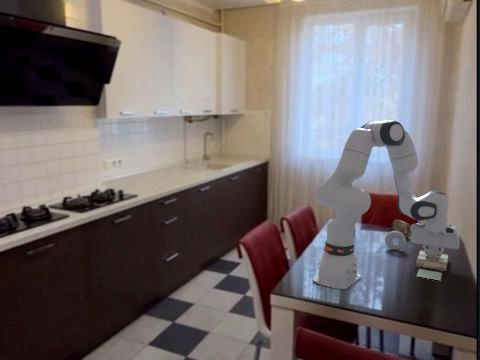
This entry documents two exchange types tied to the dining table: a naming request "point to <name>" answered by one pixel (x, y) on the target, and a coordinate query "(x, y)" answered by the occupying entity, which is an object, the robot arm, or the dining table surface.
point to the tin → (401, 227)
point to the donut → (395, 235)
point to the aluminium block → (433, 252)
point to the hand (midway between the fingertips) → (433, 255)
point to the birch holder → (432, 261)
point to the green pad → (429, 274)
